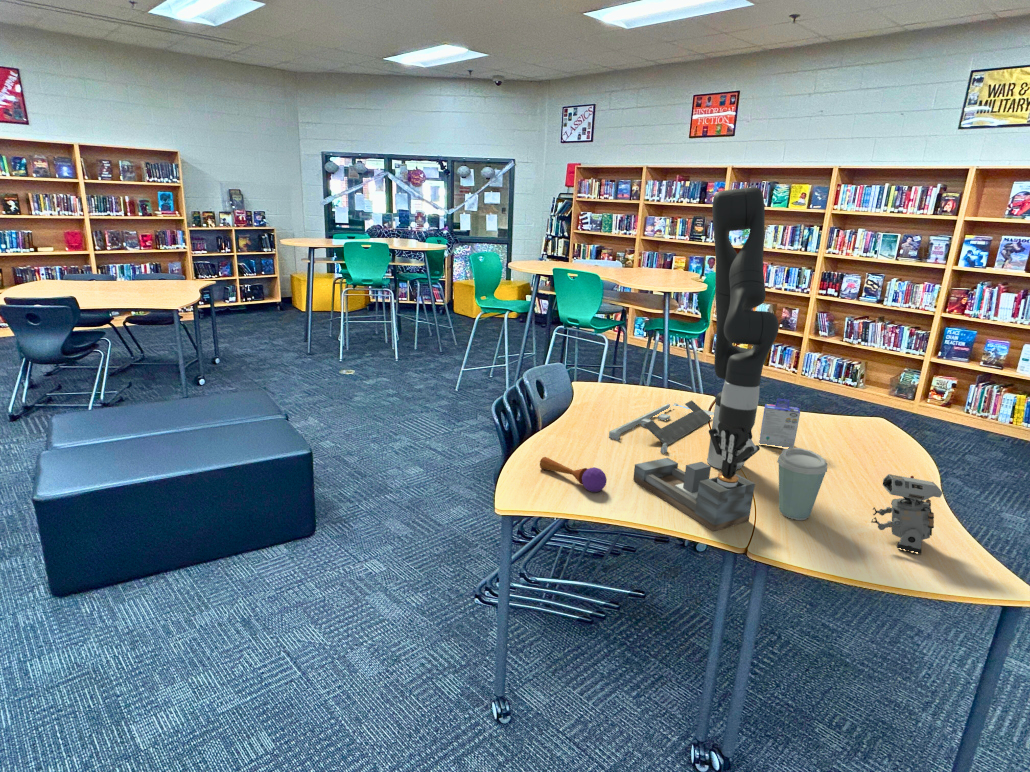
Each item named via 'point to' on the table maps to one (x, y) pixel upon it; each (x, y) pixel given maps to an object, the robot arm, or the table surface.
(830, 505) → the table surface
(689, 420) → the paper cutter
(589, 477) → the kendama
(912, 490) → the figurine
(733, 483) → the button
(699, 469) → the carriage
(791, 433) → the ink cartridge box
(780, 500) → the disposable coffee cup
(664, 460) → the grey stepped base
